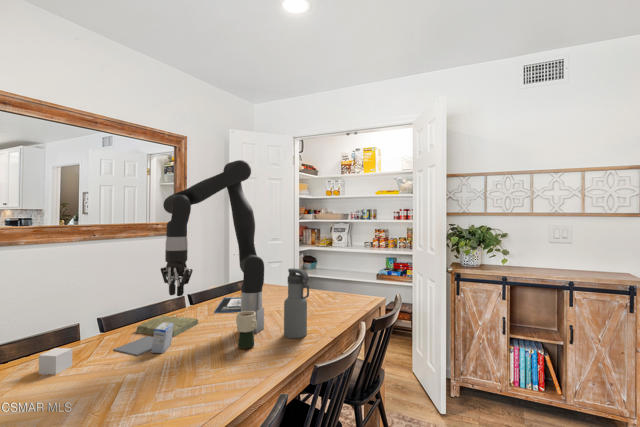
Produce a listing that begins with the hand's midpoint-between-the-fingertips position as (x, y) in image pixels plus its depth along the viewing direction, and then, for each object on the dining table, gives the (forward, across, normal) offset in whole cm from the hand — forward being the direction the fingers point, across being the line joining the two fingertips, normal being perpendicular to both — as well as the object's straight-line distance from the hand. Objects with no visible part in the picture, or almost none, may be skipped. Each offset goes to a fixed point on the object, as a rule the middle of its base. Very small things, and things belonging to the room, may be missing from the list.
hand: (176, 295), depth 121 cm
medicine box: (+21, +7, 0) cm, 22 cm away
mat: (+21, +16, 0) cm, 27 cm away
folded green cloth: (+22, +24, -18) cm, 37 cm away
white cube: (+21, +25, +26) cm, 42 cm away
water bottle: (+21, -33, -34) cm, 52 cm away
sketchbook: (+22, +18, -64) cm, 70 cm away
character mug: (+21, -21, -14) cm, 33 cm away
